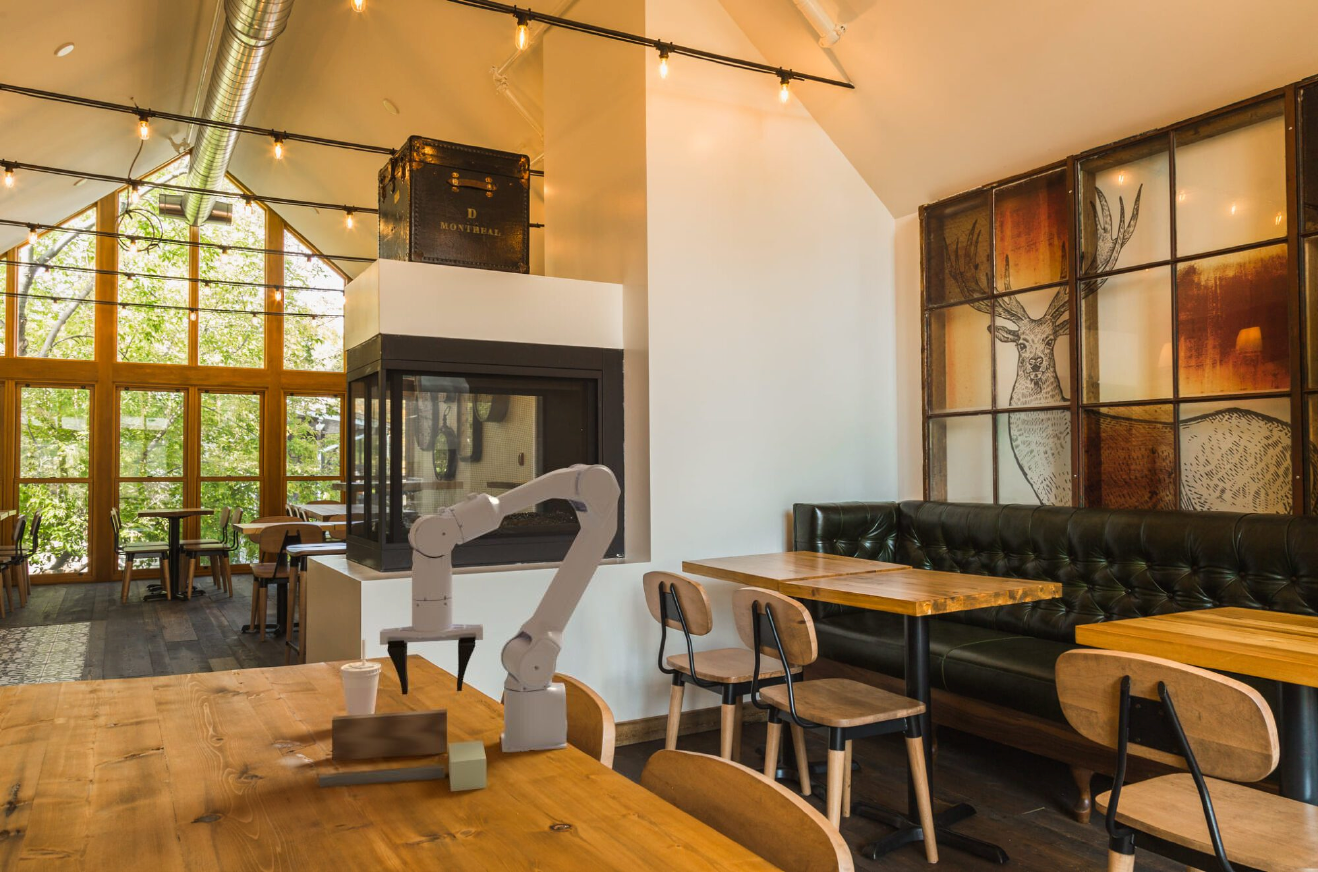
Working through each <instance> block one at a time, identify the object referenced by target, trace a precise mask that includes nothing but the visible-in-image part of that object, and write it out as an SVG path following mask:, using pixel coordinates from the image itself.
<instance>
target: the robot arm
mask: <svg viewBox="0 0 1318 872" xmlns="http://www.w3.org/2000/svg"><path fill="white" fill-rule="evenodd" d="M621 492H622V491H621V488H620V486H619V483H618V481H617V478H616V476H615V473H614V472H613V471H612V470H611V469H610V468H609V467H607V466H606V465H603V464H593V465H588V464H585V463H576V464H571V465H570V466H569V467H567V468H566V467H563V468H559V469H556V470H553V471H550V472H547V473H545V474H542V475H541V476H538V477H537V478H534V479H531V480H529V481H528V482H526V483H523V484H521V485H519V486H517V487H515V488H512V489H510V490H508V491H506V492H504V493H502V494H499V495H497V496H492V495H490V494H487V493H485V492H483V493H480V494H478V493H477V492H472V493H469V494H467V496H466V497H467V499H466V500H464V501H460V502H458V503H456V504H454V505H451V506H449V507H445V506H441V507H437V515H435V514H425V515H422V516H420V517H418V518H417V519H415V521H414V522H413V523H412V525H411V527H410V530H409V533H408V534H407V537H408V542H409V544H410V546H411V547H412V548H413V549H412V557H411V559H412V567H411V625H410V626H401V627H392V628H381V629H380V631H379V645H380V646H384V645H385V646H386V645H387V649H386V650H387V653H388V656H389V658H390V659H391V661H392V664H393V665H394V668H395V671H396V673H397V676H398V680H399V683H400V689H401V695H402V696H403V695H408V692H409V677H408V643H424V642H425V643H426V642H443V641H444V642H445V641H457V651H458V652H457V661H458V663H457V678H456V692H462V691H463V683H464V679H465V673H466V670H467V667H468V664H469V662H470V659H471V657H472V654H473V653H474V650H475V648H476V641H483V640H484V625H483V624H481V623H480V624H465V623H463V624H459V623H458V624H457V623H456V624H455V623H453V566H452V550H453V549H454V547H455V546H456V544H457V545H462V544H464V543H465V544H466V543H467V542H470V541H471V540H473V539H476V538H478V537H480V536H483V535H485V534H487V533H489V532H492V531H494V530H497V529H499V527H500V525H501V524H502V521H503V519H504V517H506V516H509V515H511V514H514V513H515V512H519V511H521V510H524V509H526V508H529V507H532V506H534V505H536V504H540V503H542V502H544V501H547V500H550V499H561V500H567V501H568V503H570V505H571V506H572V507H573V509H574V511H575V514H576V517H577V520H578V522H579V525H580V530H579V531H578V533H577V535H576V537H575V539H574V540H573V543H572V545H571V546H570V548H569V549H568V551H567V554H566V555H565V557H564V558H563V560H562V562H561V564H560V566H559V568H558V569H557V570H556V571H557V572H556V573H555V575H554V577H553V579H552V580H551V582H550V584H549V586H548V587H547V589H546V592H545V594H544V595H543V597H542V599H541V600H540V602H539V603H538V606H537V608H536V609H535V611H534V613H533V615H532V616H531V617H530V618H529V619H527V620H525V622H524V623H523V624H522V625H521V626H520V628H519V630H518V632H517V633H516V634H515V635H514V636H512V637H511V638H510V639H508V640H507V641H506V642H505V643H504V645H503V646H502V649H501V652H500V662H501V665H502V667H503V669H504V670H505V671H506V672H507V676H506V678H505V680H504V682H503V705H504V706H503V707H504V708H503V709H504V710H503V712H504V714H503V716H504V717H503V719H504V720H503V722H504V723H503V725H504V726H503V727H504V729H503V731H504V732H502V733H501V734H500V740H501V749H502V750H501V751H502V753H504V752H505V754H507V753H517V752H518V753H521V752H530V751H529V750H535V751H546V750H557V749H558V750H559V749H566V748H567V747H568V745H567V744H568V743H567V732H568V721H567V691H566V686H565V683H564V682H553V678H554V676H555V674H556V670H557V660H558V656H559V654H560V652H561V650H562V647H563V642H562V641H563V640H562V639H563V631H564V630H565V629H566V626H567V624H568V623H569V621H570V618H571V617H572V615H573V613H574V612H575V610H576V608H577V606H578V604H579V602H580V600H581V599H582V597H583V595H584V593H585V591H586V589H587V588H588V586H589V584H590V582H591V580H592V578H593V577H594V574H595V573H596V571H597V569H598V567H599V565H600V563H602V560H603V558H604V556H605V555H606V552H607V551H608V549H609V547H610V545H611V544H612V541H613V539H614V538H615V536H616V533H617V530H618V501H619V498H620V495H621ZM520 751H521V752H520ZM506 752H507V753H506Z"/></svg>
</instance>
